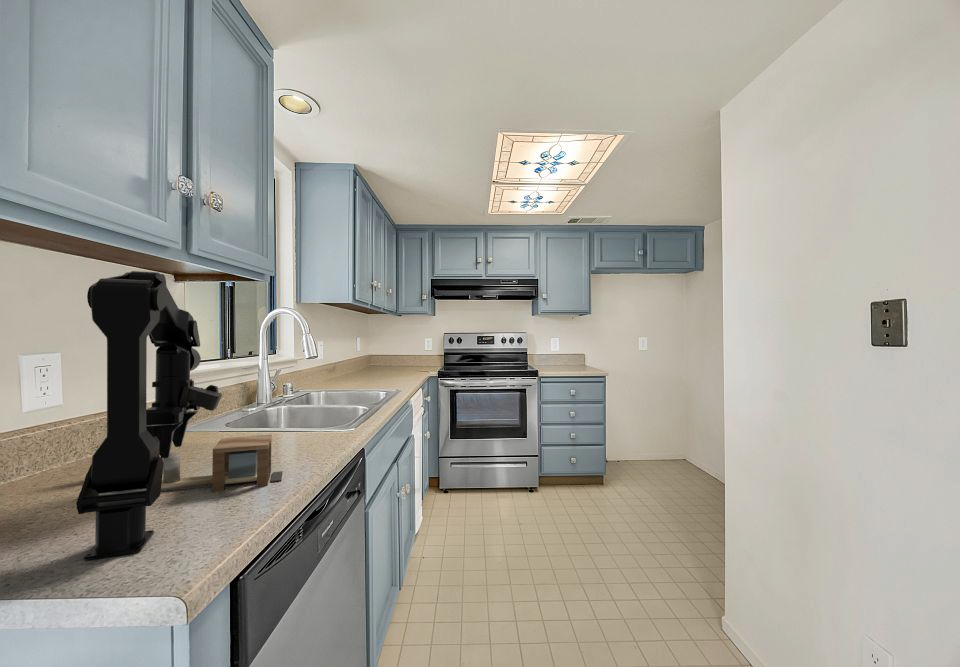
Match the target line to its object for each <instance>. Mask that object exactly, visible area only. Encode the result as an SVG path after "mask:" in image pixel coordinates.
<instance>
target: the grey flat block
mask: <svg viewBox="0 0 960 667" xmlns="http://www.w3.org/2000/svg"><path fill="white" fill-rule="evenodd" d="M283 474H284V472H283V471H282V470H280V471H273V472H272V475H271V478H270V483H277V482H278V483H279V482H282V477H283Z"/></svg>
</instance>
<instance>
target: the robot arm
mask: <svg viewBox="0 0 960 667" xmlns="http://www.w3.org/2000/svg"><path fill="white" fill-rule="evenodd" d="M86 297H87V303H88V304H87V305H88V306H89V308H90V309H91V318H92V319H91V320H92V322H93V323H94V324H95V325H96V327H97V329H99V330H100V332H101V333H102V334H103V336H104V337H106V437H105V438H104V440H103V441H102V442H101V444H100V445H99V447H98V448H97V449H96V451H95V452H94V453H93V454H92V457H91V464H90V466H89V468H88V470H87V472H86V473H85V477H84V480H83V483H82V486H81V489H80V492H79V493H78V494H79V495H78V497H77V499H76V502H75V503H76V510H77V515H84V514H89V513H95V532H94V533H95V534H94V535H95V536H94V538H95V541H94V542H95V543H94V546H92V547H91V548H90V549H88V551H87V552H86V553H85V555H84V556H83V560H84V561H87V560H96V559H99V558H101V559H102V558H105V557H106V558H107V557H108V558H109V557H114V556H120V555H128V554H134V553H139V552H141V551H142V550H143V549H144V547H145V546H146V545H147V544H148V542H149V541H150V539H151V538H152V537H153V535H154V534H155V530H154V529H153V530H151V529H150V530H147V529H146V526H147V524H146V522H147V507H151V506H153V504H154V503H155V502H156V501H158V499H159V498H160V497H161V492H162V491H161V484H162V480H163V458H168V457H169V454H170V453H171V450H172V449H171V448H172V444H173V445H174V447H175V448H181V447H182V445H183V441H184V438H185V435H186V431H187V427H188V424H189V422H190V420H191V418H193V417H194V416H195V415H197V414H198V413H199V411H198V410H200V409H201V408H203V409H204V410H206V411H214V410H216V409H218V408H217V407H218V406H219V402H220V401H221V399H222V395H223V394H222V393H221V392H219V387H218V386H216V385H214V384H210V385H208V386H207V387H205V388H203V387H197V386H195V381H194V380H193V379H192V378H191V372H192V371H194V370H196V369H197V367H199V366H200V364H201V360H202V359H201V355H200V353H199V351H198V350H197V349H196V348H200V347H201V341H200V334H199V328H198V322H197V320H195V319H194V317H193V316H192V314H191V313H190V312H189V311H188V310H184V309H181V308H179V307H178V305H177V303H176V301H175V300H174V298H173V296H172V294H171V293H170V290H169V288H168V287H167V279H166V276H165V274H164V273H160V272H156V271H155V272H154V271H140V270H139V271H135V270H132V271H130V272H129V271H128V272H125V273H124V274H121V275H116V276H111V277H106V278H104V277H103V278H99V279H98V281H97V282H95V283H93V284H92V285H90V286H89V287H88V289H87V296H86ZM148 337H149V340H150V342H151V344H153V345H154V347H155V348H156V351H155V381H152V383H151V388H154V389H155V394H154V395H155V396H154V398H155V400H154V401H153V402H152V403H151V407H149V408H147V362H148V361H147V359H148V358H147V357H148V356H147V354H148V353H147V351H148V350H147V347H148V346H147V340H148ZM191 410H192V411H191ZM141 489H146V491H142V492H133V493H123V494H114V495H105V496H99V494H103V493H113V492H122V491H132V490H141Z"/></svg>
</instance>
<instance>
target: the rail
mask: <svg viewBox="0 0 960 667" xmlns="http://www.w3.org/2000/svg"><path fill="white" fill-rule="evenodd" d="M270 477H271V474H270V473H268V481H269V480H270V479H271V478H270ZM249 482H251V483H252V482H254V481H247V482H246V483H249ZM255 482H257V480H256V481H255ZM242 483H243V484H244V483H245V482H237V483H228V484H225V485H233V484H242ZM205 487H206V488H207V487H212V483H208V484H198V485H189V486H179V487H170V488H161V492H168V491H169V492H170V491H177V490H187V489H197V488H205ZM142 491H146V489H141V490H132V491H122V492H113V493H103V494H99V496H105V495H114V494H123V493H133V492H142Z"/></svg>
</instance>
